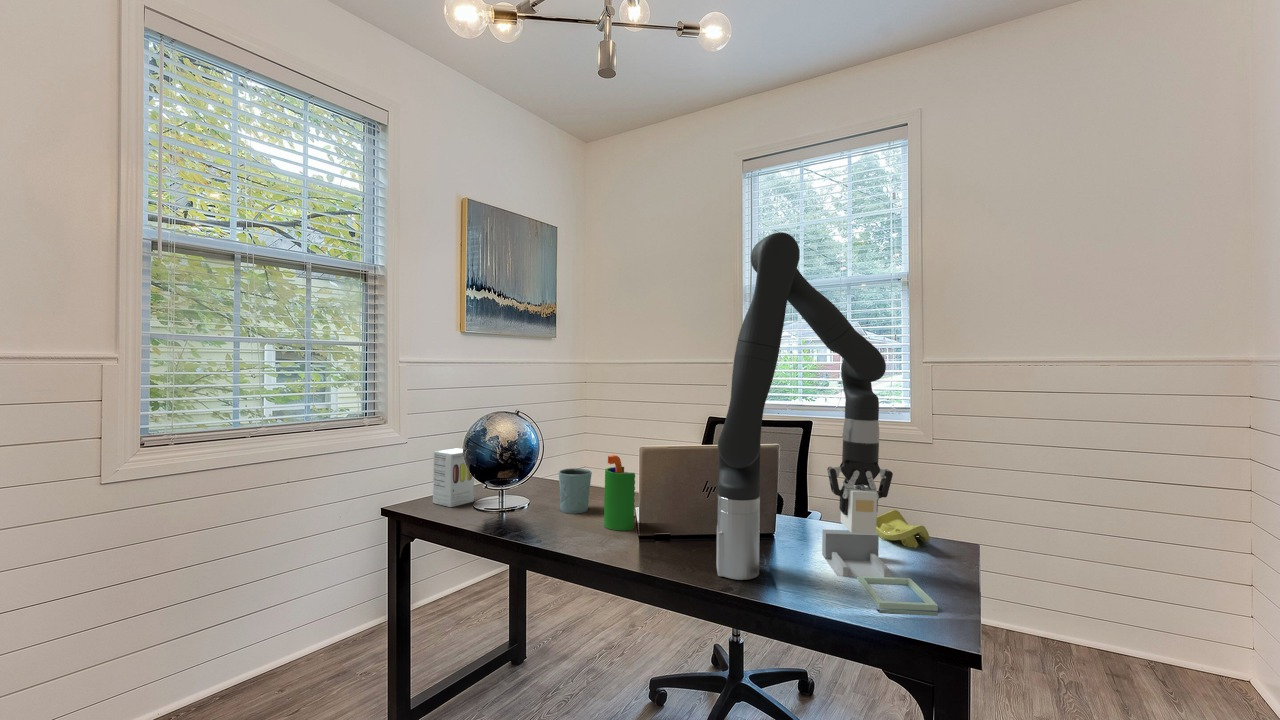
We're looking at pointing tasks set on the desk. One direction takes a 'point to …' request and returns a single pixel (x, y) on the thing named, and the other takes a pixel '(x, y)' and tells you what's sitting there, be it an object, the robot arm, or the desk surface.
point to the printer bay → (858, 567)
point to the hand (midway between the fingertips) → (858, 514)
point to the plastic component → (900, 529)
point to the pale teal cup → (574, 490)
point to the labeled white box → (861, 510)
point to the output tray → (927, 605)
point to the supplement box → (451, 479)
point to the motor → (619, 497)
